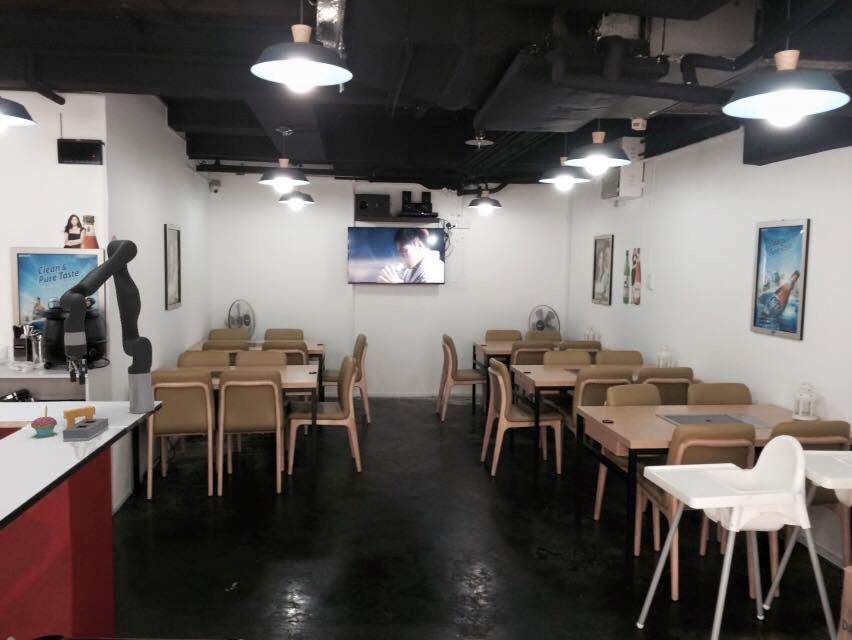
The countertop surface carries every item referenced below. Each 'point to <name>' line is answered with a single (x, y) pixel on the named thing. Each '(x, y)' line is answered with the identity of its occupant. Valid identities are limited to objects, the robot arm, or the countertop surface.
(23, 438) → the countertop surface
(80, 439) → the metal panel
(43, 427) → the cupcake
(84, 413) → the orange arch block
